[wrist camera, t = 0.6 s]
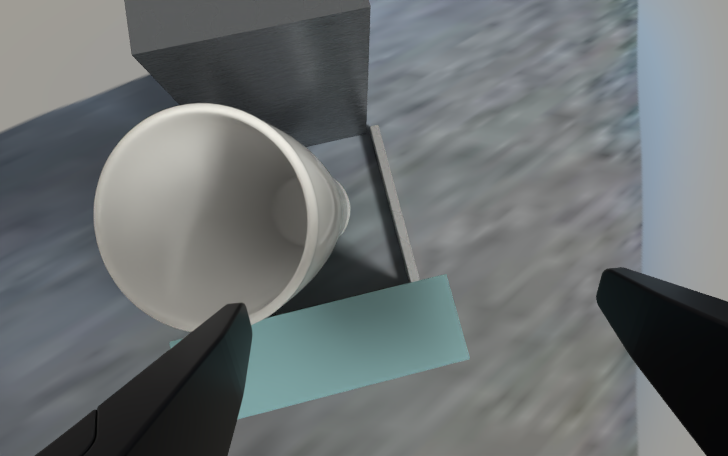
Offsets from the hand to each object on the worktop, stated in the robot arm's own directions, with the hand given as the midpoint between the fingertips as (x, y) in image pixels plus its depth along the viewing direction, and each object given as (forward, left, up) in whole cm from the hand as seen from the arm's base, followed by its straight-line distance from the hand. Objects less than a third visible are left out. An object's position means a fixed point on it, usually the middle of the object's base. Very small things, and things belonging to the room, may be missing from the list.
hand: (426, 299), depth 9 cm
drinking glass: (+8, +1, -15) cm, 17 cm away
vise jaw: (0, +4, -16) cm, 16 cm away
